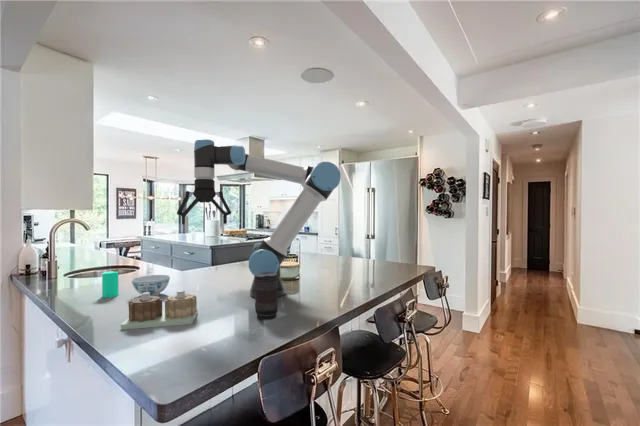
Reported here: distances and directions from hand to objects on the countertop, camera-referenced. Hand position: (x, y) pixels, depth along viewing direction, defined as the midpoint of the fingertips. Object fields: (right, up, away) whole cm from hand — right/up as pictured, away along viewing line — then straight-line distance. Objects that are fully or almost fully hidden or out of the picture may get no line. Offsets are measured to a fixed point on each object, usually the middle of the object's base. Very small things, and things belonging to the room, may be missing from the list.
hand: (204, 232), depth 126 cm
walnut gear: (-13, -27, -19) cm, 36 cm away
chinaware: (-29, -29, +15) cm, 44 cm away
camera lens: (+27, -29, -15) cm, 42 cm away
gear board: (-8, -29, -18) cm, 35 cm away
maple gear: (-2, -27, -17) cm, 32 cm away
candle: (-47, -29, +15) cm, 58 cm away
